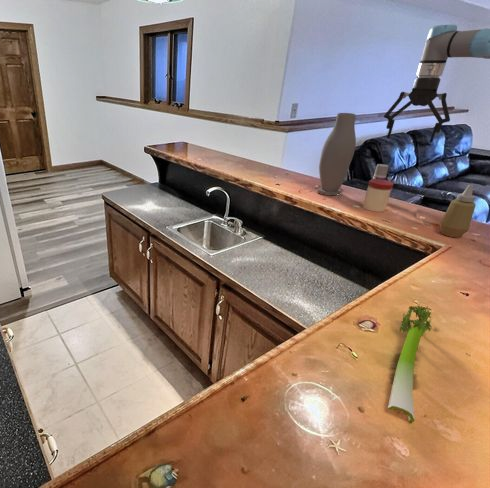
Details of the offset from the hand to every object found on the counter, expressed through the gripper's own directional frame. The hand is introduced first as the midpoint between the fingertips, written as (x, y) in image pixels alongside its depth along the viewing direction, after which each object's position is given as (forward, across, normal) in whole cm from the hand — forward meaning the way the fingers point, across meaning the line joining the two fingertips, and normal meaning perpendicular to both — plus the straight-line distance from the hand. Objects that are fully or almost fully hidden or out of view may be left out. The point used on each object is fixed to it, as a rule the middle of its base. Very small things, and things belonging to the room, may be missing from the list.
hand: (408, 139), depth 131 cm
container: (+28, -7, +13) cm, 32 cm away
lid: (+17, -5, -1) cm, 18 cm away
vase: (+28, -25, +9) cm, 39 cm away
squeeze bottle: (+29, +21, -14) cm, 38 cm away
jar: (+28, -5, -1) cm, 29 cm away
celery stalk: (+29, +15, -94) cm, 100 cm away
